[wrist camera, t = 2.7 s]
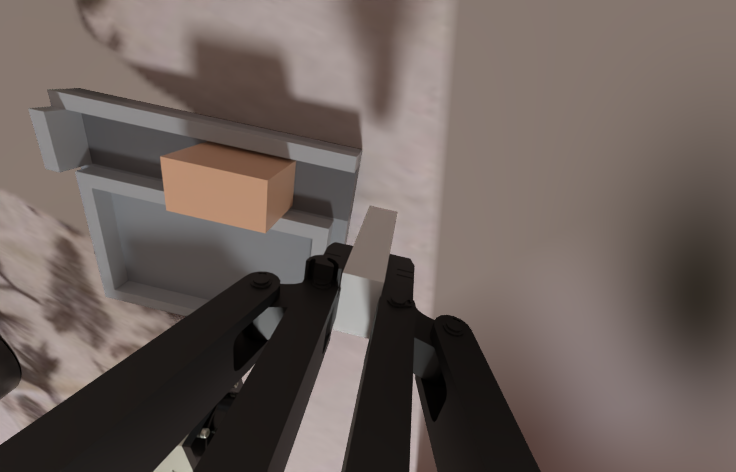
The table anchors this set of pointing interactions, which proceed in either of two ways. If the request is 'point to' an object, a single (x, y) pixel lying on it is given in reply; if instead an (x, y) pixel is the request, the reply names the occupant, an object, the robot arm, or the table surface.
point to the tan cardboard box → (228, 185)
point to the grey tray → (177, 231)
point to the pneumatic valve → (199, 437)
